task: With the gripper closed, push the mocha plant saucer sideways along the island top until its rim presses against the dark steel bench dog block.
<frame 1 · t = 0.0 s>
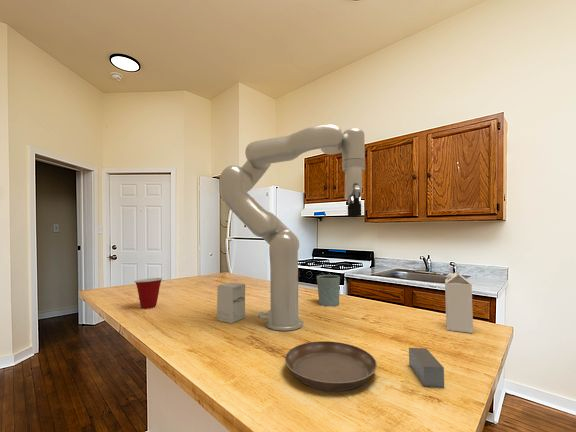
hand: (354, 216, 101), 37 cm above the countertop, tool pointing down, fingers open, 9 cm apart
grey green tapered pot: (328, 304, 130), on the countertop
plant saucer: (330, 373, 68), on the countertop
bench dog: (425, 375, 66), on the countertop
supplement box: (231, 319, 108), on the countertop
milk carton: (459, 329, 97), on the countertop
plastic cup: (148, 307, 126), on the countertop
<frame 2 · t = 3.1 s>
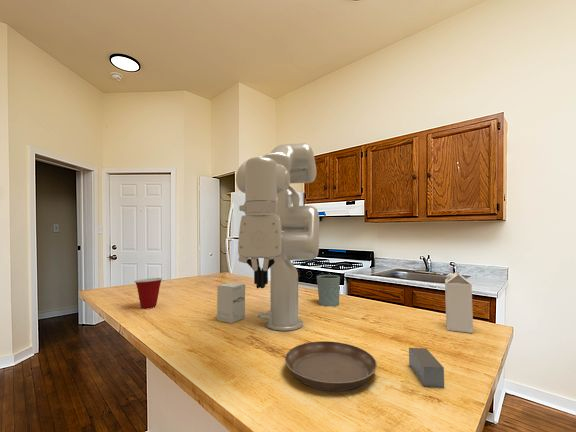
hand: (261, 287, 71), 19 cm above the countertop, tool pointing down, fingers closed
nothing on the countertop moved.
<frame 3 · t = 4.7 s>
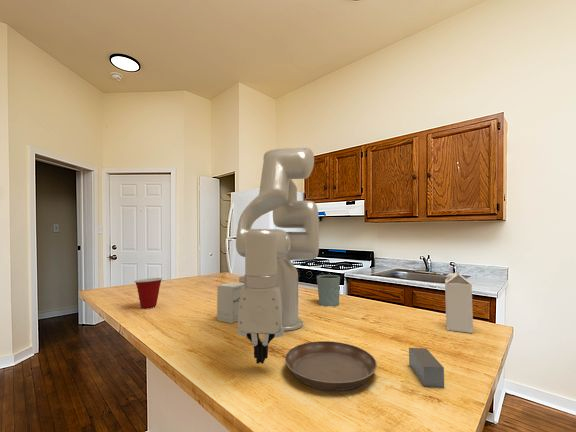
hand: (261, 361, 70), 2 cm above the countertop, tool pointing down, fingers closed
nothing on the countertop moved.
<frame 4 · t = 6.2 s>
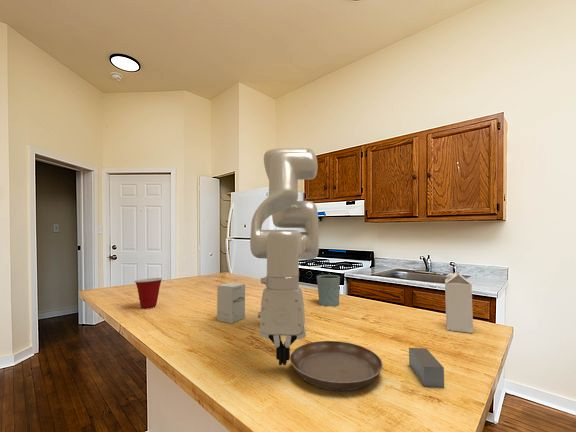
hand: (283, 362, 69), 2 cm above the countertop, tool pointing down, fingers closed
plant saucer: (335, 373, 68), on the countertop, touching gripper
everything else where it was.
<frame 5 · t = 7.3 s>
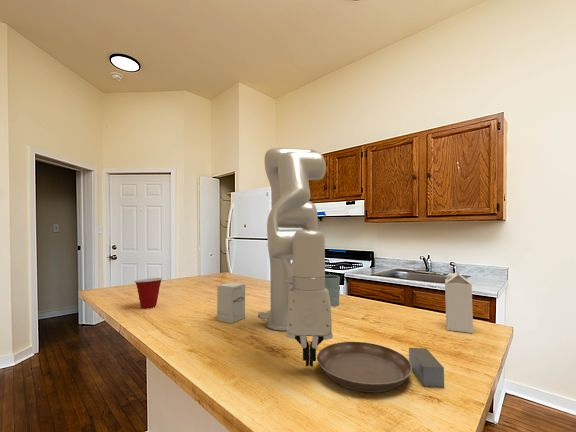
hand: (309, 363, 69), 2 cm above the countertop, tool pointing down, fingers closed
plant saucer: (362, 374, 68), on the countertop, touching gripper
everything else where it was.
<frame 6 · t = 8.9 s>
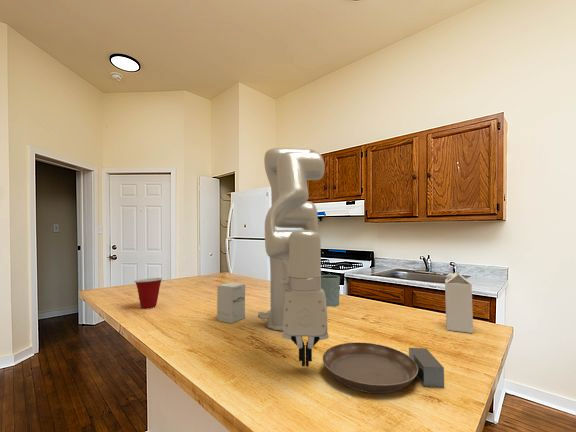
hand: (305, 363, 69), 1 cm above the countertop, tool pointing down, fingers closed
plant saucer: (368, 375, 67), on the countertop
everything else where it was.
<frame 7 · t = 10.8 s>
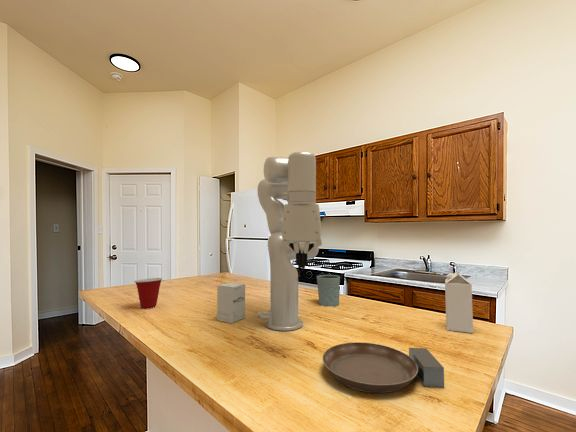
hand: (301, 267, 80), 22 cm above the countertop, tool pointing down, fingers closed
nothing on the countertop moved.
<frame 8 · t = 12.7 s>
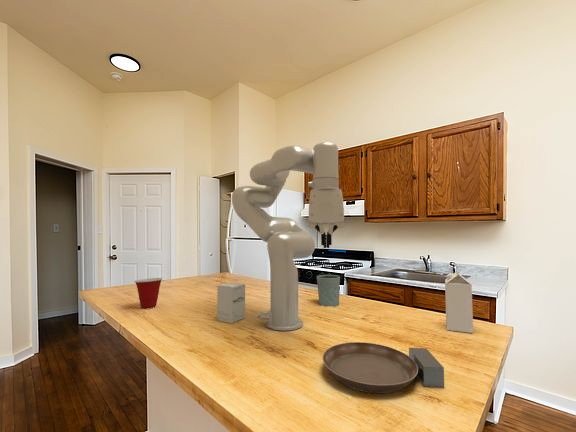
hand: (326, 247, 88), 27 cm above the countertop, tool pointing down, fingers closed
nothing on the countertop moved.
at the end: plant saucer inside the target area (0.7 cm from its centre), on the countertop; plant saucer moved 8.7 cm from its start; plant saucer 12.3 cm from the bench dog (horizontally) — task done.
